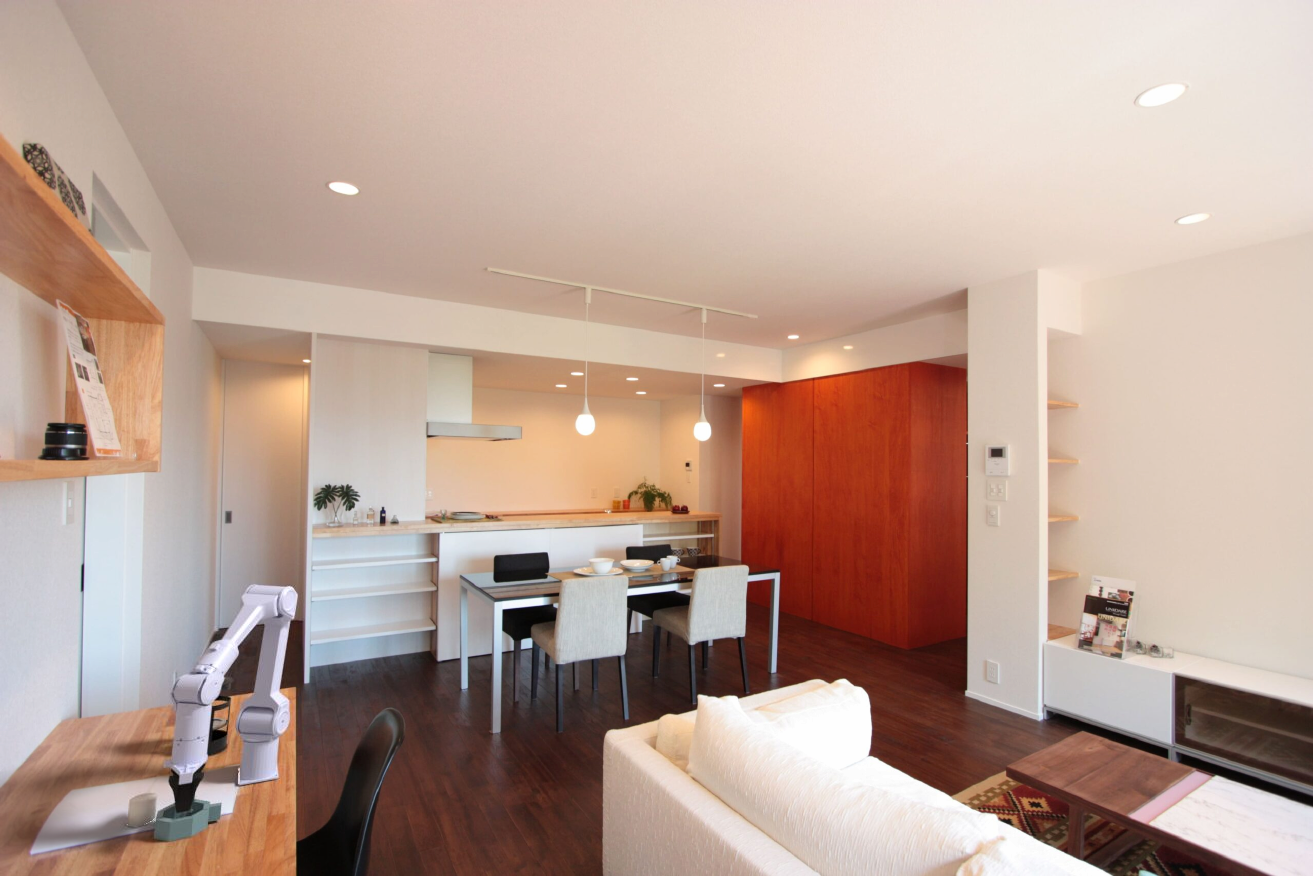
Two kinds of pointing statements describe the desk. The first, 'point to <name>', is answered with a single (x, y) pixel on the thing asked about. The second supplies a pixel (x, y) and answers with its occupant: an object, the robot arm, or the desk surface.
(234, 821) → the desk surface
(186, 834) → the grey-green octagonal bowl
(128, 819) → the cream rounded block
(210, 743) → the french press
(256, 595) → the robot arm
